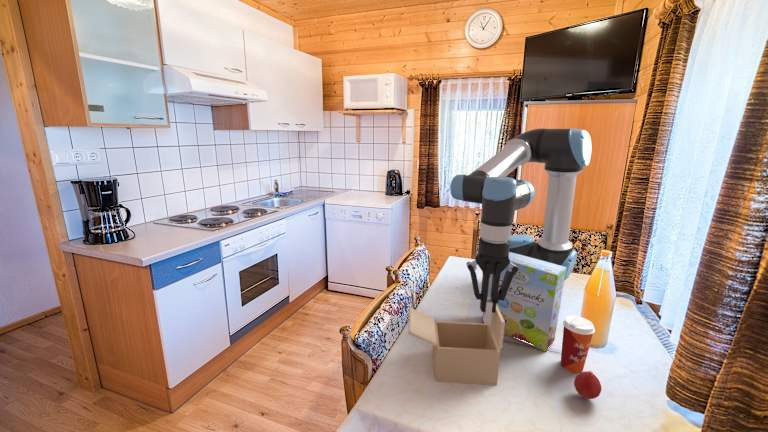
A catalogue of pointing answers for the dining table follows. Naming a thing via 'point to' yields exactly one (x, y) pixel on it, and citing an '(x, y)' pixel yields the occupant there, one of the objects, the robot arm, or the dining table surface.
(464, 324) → the carton
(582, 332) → the paper cup
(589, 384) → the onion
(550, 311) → the snack box
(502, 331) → the flap
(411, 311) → the flap
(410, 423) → the dining table surface
